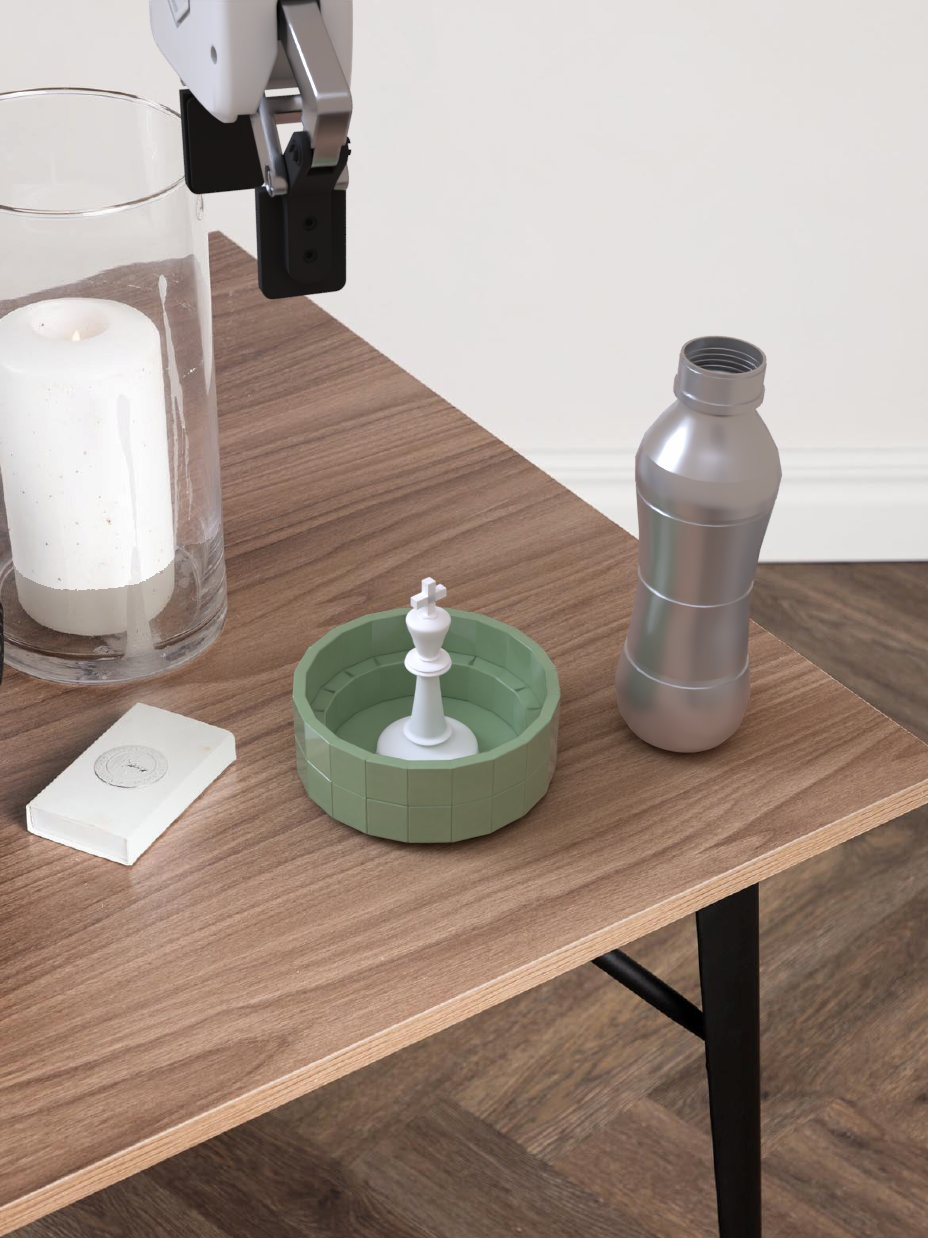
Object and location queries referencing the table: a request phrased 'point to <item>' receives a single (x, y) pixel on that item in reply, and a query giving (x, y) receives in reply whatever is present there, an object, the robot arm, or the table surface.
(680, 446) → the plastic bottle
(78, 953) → the table surface
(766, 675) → the table surface
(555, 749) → the bowl
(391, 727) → the chess piece
